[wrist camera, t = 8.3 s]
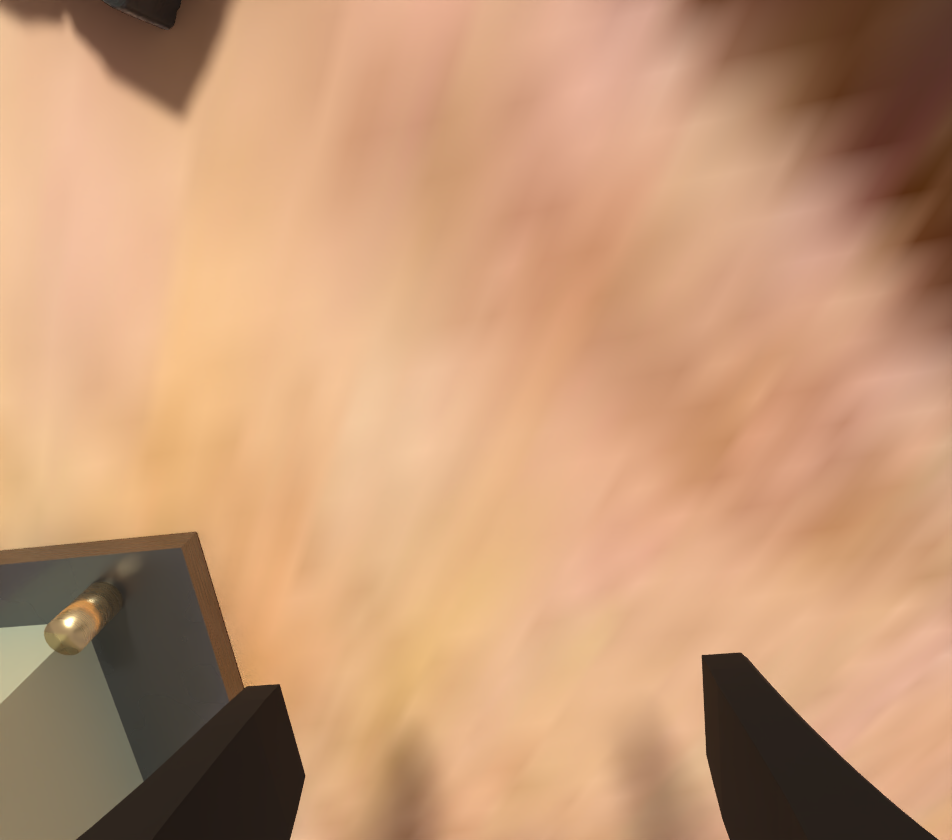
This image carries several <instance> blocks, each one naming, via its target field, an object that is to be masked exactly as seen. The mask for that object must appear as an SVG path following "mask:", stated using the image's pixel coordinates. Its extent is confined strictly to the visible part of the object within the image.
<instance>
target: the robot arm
mask: <svg viewBox="0 0 952 840" xmlns="http://www.w3.org/2000/svg"><path fill="white" fill-rule="evenodd" d="M702 671H703V692H704V714H705V735H706V755H707V759H708V763H709V767H710V771H711V775H712V780H713V784H714V788H715V792H716V796H717V799H718V803H719V807H720V811H721V815H722V819H723V822H724V825H725V827H726V830H727V833H728V836H729V839H730V840H938V839H937V838H935V837H934V836H933V835H932V834H930V833H929V832H928V831H927V830H925V829H924V828H923V827H921V826H920V825H919V824H918V823H917V822H915V821H914V820H913V819H912V818H910V817H909V816H908V815H907V814H906V813H904V812H903V811H902V810H901V809H900V808H898V807H897V806H896V805H895V804H894V803H893V802H891V801H890V800H889V799H888V798H887V797H886V796H884V795H883V794H882V793H881V792H880V791H879V790H878V789H877V788H875V787H874V786H873V785H872V784H871V783H870V782H869V781H867V780H866V779H865V778H864V777H863V776H862V775H861V774H860V773H858V772H857V771H856V770H855V769H854V768H853V767H852V766H851V765H850V764H849V763H848V762H847V761H846V760H844V759H843V758H842V757H841V756H840V755H839V754H838V753H837V752H836V751H835V750H834V749H833V748H832V747H831V746H830V745H829V744H828V743H827V742H826V741H825V740H824V739H823V738H822V737H821V736H820V735H819V734H818V733H817V732H816V731H815V730H814V729H813V728H812V727H811V726H809V725H808V723H807V722H806V721H805V720H804V719H803V718H802V717H801V716H800V715H799V714H798V713H797V712H796V711H795V710H794V709H793V708H792V707H791V706H790V705H789V704H788V703H787V702H786V701H785V700H784V698H783V697H782V696H781V695H780V694H779V693H778V692H777V691H776V690H775V689H774V688H773V687H772V685H771V684H770V683H769V682H768V681H767V680H766V679H765V678H764V677H763V675H762V674H761V673H760V672H759V671H758V670H757V669H756V668H755V666H754V665H753V664H752V663H751V662H750V661H749V659H748V658H747V657H745V656H744V655H743V654H742V653H727V654H713V655H702ZM304 779H305V773H304V769H303V766H302V762H301V758H300V755H299V751H298V748H297V744H296V741H295V737H294V734H293V730H292V727H291V723H290V719H289V716H288V712H287V709H286V705H285V702H284V698H283V695H282V691H281V687H280V684H276V685H261V686H247V687H246V688H244V689H243V690H242V691H241V692H240V693H239V694H237V695H236V696H235V697H234V698H233V699H232V700H231V701H230V702H228V703H227V704H226V705H225V706H224V707H223V708H222V709H221V710H220V711H219V712H218V713H217V714H216V715H215V716H213V717H212V718H211V719H210V720H209V721H208V722H207V723H206V724H205V725H204V726H203V727H202V728H201V729H200V730H199V731H198V732H197V733H196V734H194V735H193V736H192V737H191V738H190V739H189V740H188V741H187V742H186V743H185V744H184V745H183V746H182V747H181V748H180V749H178V750H177V751H176V752H175V753H174V754H173V755H172V756H171V757H170V758H169V759H168V760H167V761H166V762H164V763H163V764H162V765H161V766H160V767H159V768H158V769H157V770H156V771H155V772H154V773H153V774H152V775H150V776H149V777H148V778H147V779H146V780H145V781H144V782H143V783H141V784H140V785H139V786H138V787H137V788H136V789H134V790H133V791H132V792H131V793H130V794H129V795H128V796H126V797H125V798H124V799H123V800H122V801H121V802H120V803H118V804H117V805H116V806H115V807H114V808H113V809H111V810H110V811H109V812H108V813H107V814H106V815H105V816H103V817H102V818H101V819H100V820H99V821H98V822H96V823H95V824H94V825H93V826H92V827H91V828H89V829H88V830H87V831H86V832H84V833H83V834H82V835H81V836H80V837H78V838H77V839H76V840H290V837H291V833H292V829H293V825H294V822H295V818H296V814H297V810H298V806H299V801H300V797H301V793H302V788H303V784H304Z"/></svg>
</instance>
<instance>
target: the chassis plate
mask: <svg viewBox="0 0 952 840" xmlns="http://www.w3.org/2000/svg"><path fill="white" fill-rule="evenodd" d="M44 624H47V626H46V627H45V630H44V637H45V640H46V642H47V644H48V645H49V646H50V647H51V648H52V649H53V650H55V651H56V652H58V653H60V654H63V655H75V654H78V653H79V652H81V651H82V650H83V649H84V648H85V646H86V645H87V644H88V643H89V642H90V641H92V644H93V647H94V649H95V652H96V655H97V657H98V660H99V663H100V666H101V668H102V671H103V674H104V676H105V679H106V682H107V684H108V687H109V690H110V692H111V695H112V698H113V700H114V703H115V706H116V708H117V711H118V714H119V717H120V719H121V722H122V725H123V727H124V730H125V733H126V735H127V738H128V741H129V743H130V746H131V749H132V751H133V754H134V757H135V759H136V762H137V765H138V768H139V770H140V773H141V776H142V778H143V781H145V780H146V779H147V778H148V777H149V776H150V775H152V774H153V773H154V772H155V771H156V770H157V769H158V768H159V767H160V766H161V765H162V764H163V763H164V762H166V761H167V760H168V759H169V758H170V757H171V756H172V755H173V754H174V753H175V752H176V751H177V750H178V749H180V748H181V747H182V746H183V745H184V744H185V743H186V742H187V741H188V740H189V739H190V738H191V737H192V736H193V735H194V734H196V733H197V732H198V731H199V730H200V729H201V728H202V727H203V726H204V725H205V724H206V723H207V722H208V721H209V720H210V719H211V718H212V717H213V716H215V715H216V714H217V713H218V712H219V711H220V710H221V709H222V708H223V707H224V706H225V705H226V704H227V703H228V702H230V701H231V700H232V699H233V698H234V697H235V696H236V695H237V694H239V693H240V692H241V691H242V690H243V689H244V688H243V685H242V682H241V678H240V675H239V672H238V668H237V665H236V662H235V658H234V655H233V652H232V649H231V645H230V642H229V639H228V635H227V632H226V629H225V625H224V622H223V619H222V615H221V612H220V609H219V606H218V602H217V599H216V596H215V592H214V589H213V586H212V582H211V579H210V576H209V572H208V569H207V566H206V563H205V559H204V556H203V553H202V549H201V546H200V543H199V539H198V536H197V533H196V532H189V533H179V534H169V535H158V536H148V537H138V538H127V539H117V540H107V541H96V542H86V543H76V544H65V545H55V546H45V547H35V548H24V549H14V550H4V551H0V628H6V627H18V626H31V625H44Z"/></svg>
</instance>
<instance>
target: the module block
mask: <svg viewBox="0 0 952 840" xmlns="http://www.w3.org/2000/svg"><path fill="white" fill-rule="evenodd" d="M46 626H47V624H44V625H31V626H18V627H6V628H0V840H76V839H77V838H78V837H80V836H81V835H82V834H83V833H84V832H86V831H87V830H88V829H89V828H91V827H92V826H93V825H94V824H95V823H96V822H98V821H99V820H100V819H101V818H102V817H103V816H105V815H106V814H107V813H108V812H109V811H110V810H111V809H113V808H114V807H115V806H116V805H117V804H118V803H120V802H121V801H122V800H123V799H124V798H125V797H126V796H128V795H129V794H130V793H131V792H132V791H133V790H134V789H136V788H137V787H138V786H139V785H140V784H141V783H143V782H144V781H143V778H142V776H141V773H140V770H139V768H138V765H137V762H136V759H135V757H134V754H133V751H132V749H131V746H130V743H129V741H128V738H127V735H126V733H125V730H124V727H123V725H122V722H121V719H120V717H119V714H118V711H117V708H116V706H115V703H114V700H113V698H112V695H111V692H110V690H109V687H108V684H107V682H106V679H105V676H104V674H103V671H102V668H101V666H100V663H99V660H98V657H97V655H96V652H95V649H94V647H93V644H92V641H90V642H89V643H88V644H87V645H86V646H85V648H84V649H83V650H82V651H81V652H79V653H78V654H75V655H63V654H60V653H58V652H56V651H55V650H53V649H52V648H51V647H50V646H49V645H48V644H47V642H46V640H45V637H44V630H45V627H46Z"/></svg>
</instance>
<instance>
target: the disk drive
mask: <svg viewBox="0 0 952 840" xmlns="http://www.w3.org/2000/svg"><path fill="white" fill-rule="evenodd" d="M102 1H104V2H105V3H106V4H108V5H109V6H111V7H112V8H114V9H117V10H119V11H121V12H123V13H125V14H128V15H130V16H132V17H135V18H137V19H139V20H143V21H145V22H147V23H150V24H152V25H155V26H157V27H159V28H161V29H166V30H169V29H170V28H171V27H172V26H173V25H174V23H175V18H176V13H177V10H178V9H179V8H180V4H181V1H182V0H102Z"/></svg>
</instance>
